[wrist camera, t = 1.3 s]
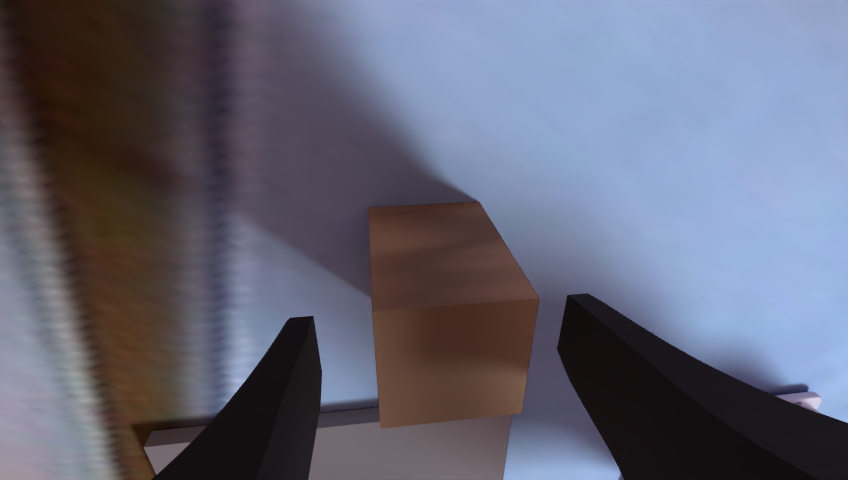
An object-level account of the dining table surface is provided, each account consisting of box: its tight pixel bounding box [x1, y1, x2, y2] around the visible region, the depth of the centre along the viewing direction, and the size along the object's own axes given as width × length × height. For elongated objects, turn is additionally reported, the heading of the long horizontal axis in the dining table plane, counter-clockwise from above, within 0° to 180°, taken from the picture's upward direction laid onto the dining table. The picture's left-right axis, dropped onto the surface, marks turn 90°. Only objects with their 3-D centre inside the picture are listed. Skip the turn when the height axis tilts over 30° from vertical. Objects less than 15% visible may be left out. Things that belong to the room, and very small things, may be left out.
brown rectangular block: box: [369, 202, 539, 429], centre depth 14 cm, size 4×4×6 cm
